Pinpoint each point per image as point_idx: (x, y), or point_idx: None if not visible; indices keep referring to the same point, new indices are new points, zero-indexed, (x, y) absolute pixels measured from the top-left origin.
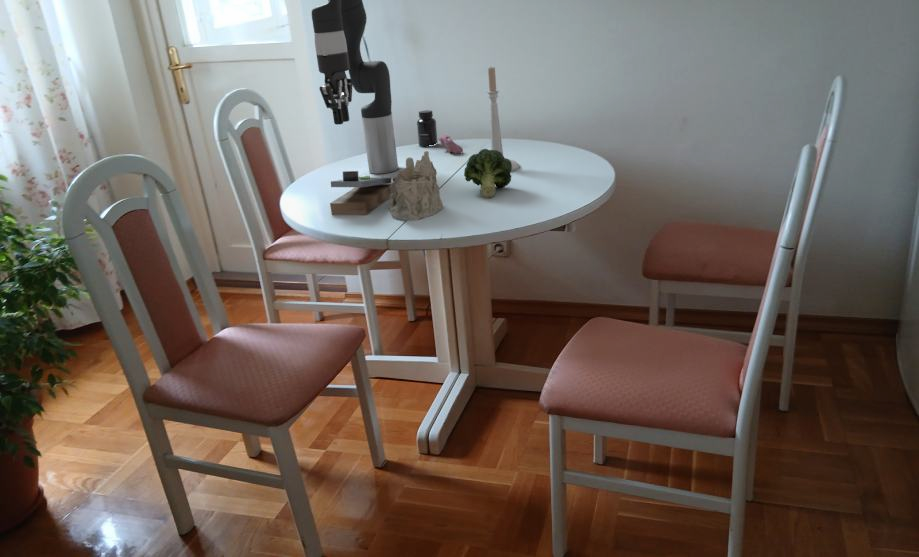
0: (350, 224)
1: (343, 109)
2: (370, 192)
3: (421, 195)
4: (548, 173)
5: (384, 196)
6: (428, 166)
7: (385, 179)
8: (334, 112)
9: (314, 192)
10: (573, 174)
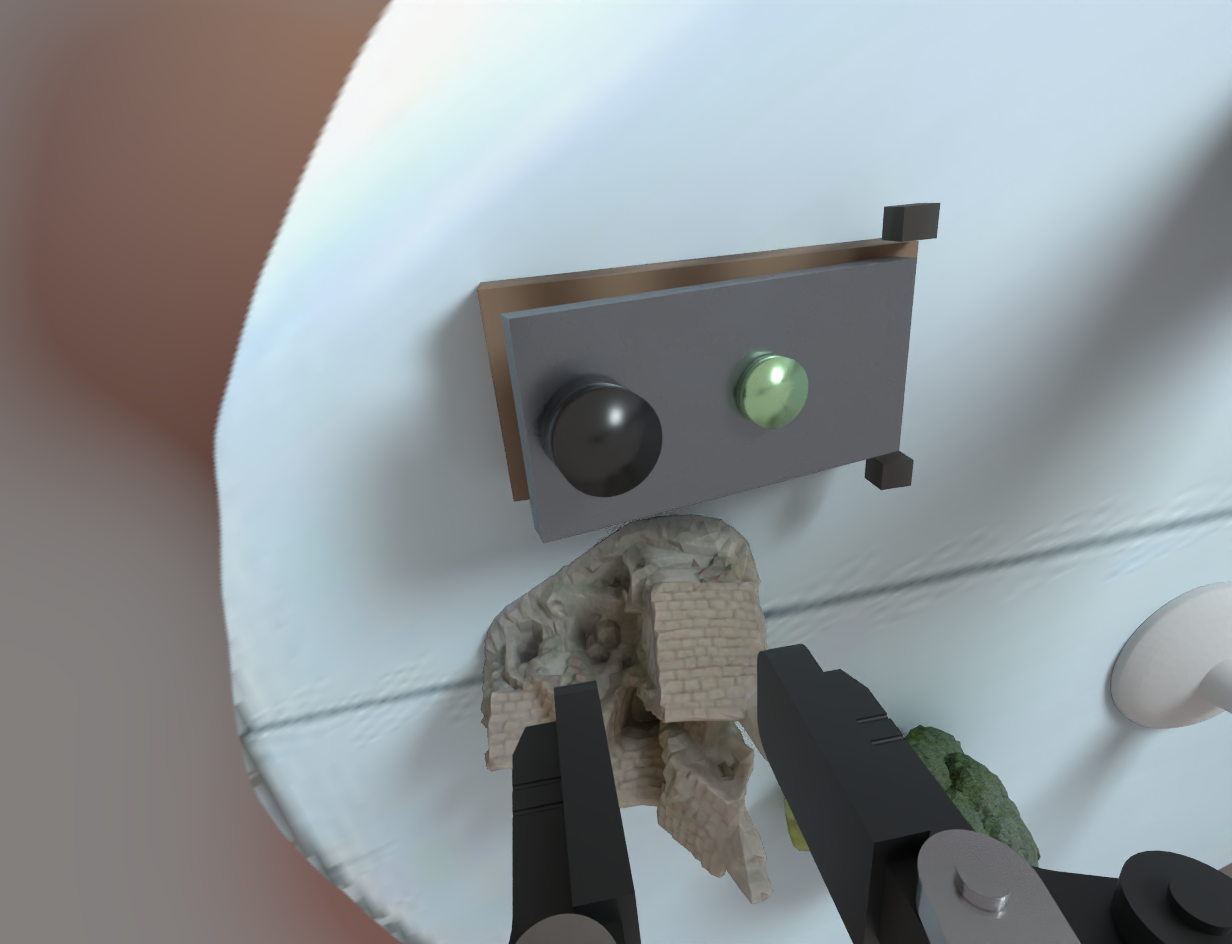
0: (363, 484)
1: (841, 863)
2: None
3: None
4: (1072, 826)
5: None
6: (697, 848)
7: (828, 465)
8: (530, 906)
9: None
10: None
